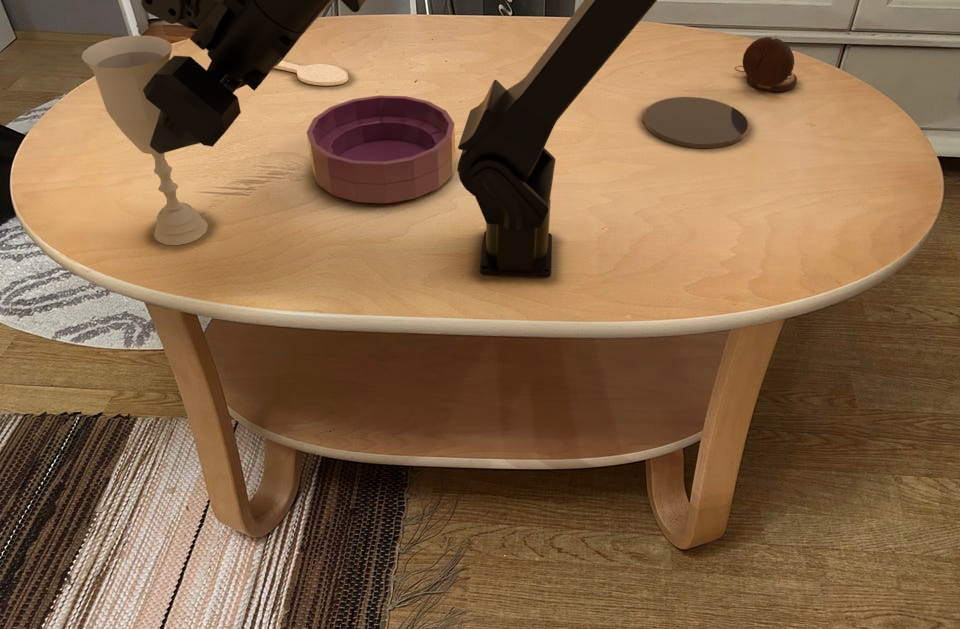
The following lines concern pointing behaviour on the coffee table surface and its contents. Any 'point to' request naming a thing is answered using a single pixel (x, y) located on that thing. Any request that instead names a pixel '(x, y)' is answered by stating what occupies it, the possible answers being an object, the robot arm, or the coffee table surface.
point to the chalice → (142, 119)
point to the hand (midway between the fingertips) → (178, 123)
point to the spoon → (316, 73)
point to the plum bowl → (382, 148)
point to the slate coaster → (695, 122)
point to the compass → (769, 64)
